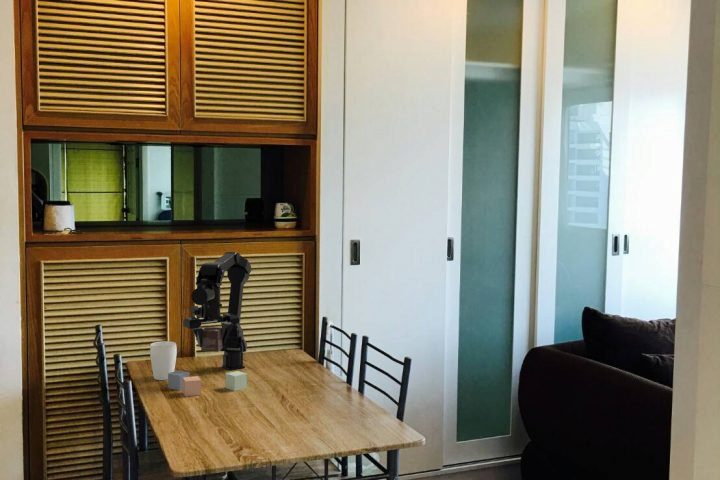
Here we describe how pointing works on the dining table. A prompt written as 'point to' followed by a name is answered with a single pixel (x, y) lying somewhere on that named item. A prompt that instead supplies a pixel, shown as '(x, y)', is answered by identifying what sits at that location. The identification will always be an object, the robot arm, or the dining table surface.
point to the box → (212, 339)
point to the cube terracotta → (191, 386)
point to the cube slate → (177, 379)
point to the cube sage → (236, 380)
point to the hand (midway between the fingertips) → (211, 345)
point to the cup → (163, 358)
